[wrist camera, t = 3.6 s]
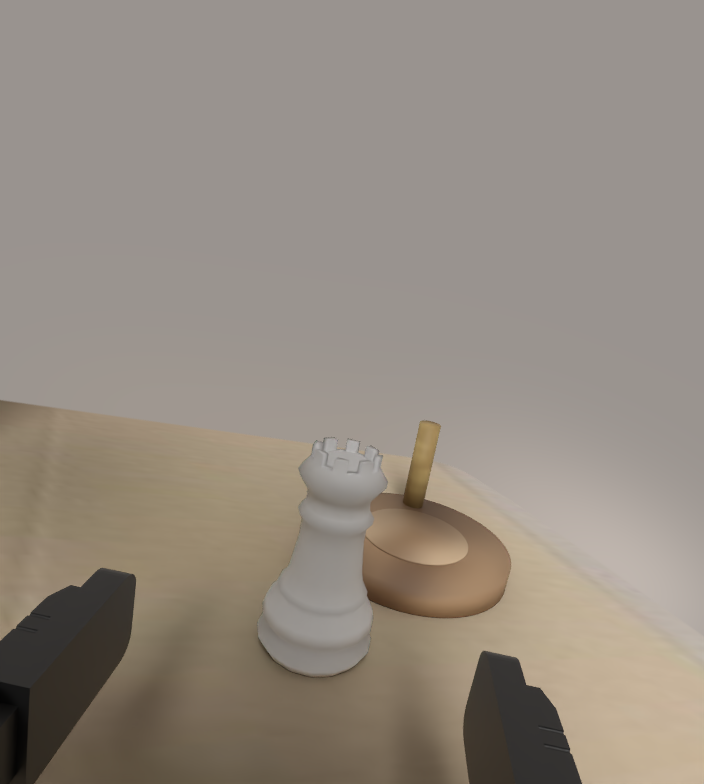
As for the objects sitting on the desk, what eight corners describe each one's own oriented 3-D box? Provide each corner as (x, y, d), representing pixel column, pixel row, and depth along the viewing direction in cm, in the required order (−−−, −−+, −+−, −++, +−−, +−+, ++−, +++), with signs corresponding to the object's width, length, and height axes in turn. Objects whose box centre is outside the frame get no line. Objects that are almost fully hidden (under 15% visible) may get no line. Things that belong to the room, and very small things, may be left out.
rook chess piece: (243, 610, 23) (270, 426, 21) (342, 599, 24) (376, 430, 23) (273, 694, 19) (310, 476, 17) (388, 673, 21) (433, 475, 19)
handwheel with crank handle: (300, 590, 25) (323, 461, 23) (328, 498, 34) (346, 402, 33) (524, 637, 24) (562, 509, 23) (488, 530, 34) (513, 435, 32)
